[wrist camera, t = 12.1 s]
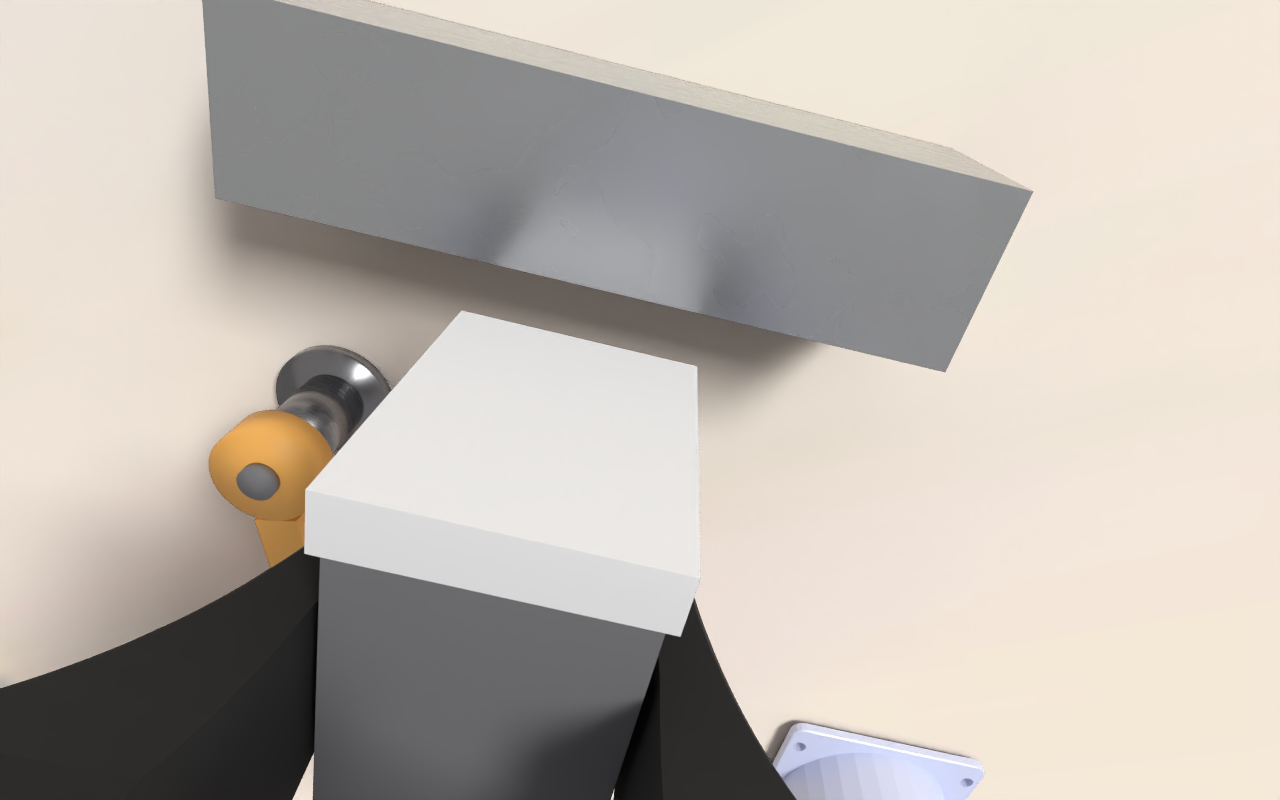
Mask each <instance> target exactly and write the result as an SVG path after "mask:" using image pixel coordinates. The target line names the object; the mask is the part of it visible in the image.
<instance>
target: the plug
mask: <svg viewBox="0 0 1280 800" xmlns="http://www.w3.org/2000/svg"><path fill="white" fill-rule="evenodd" d="M304 554H308V555H312V556H317V557H320V574H319V608H318V641H317V675H316V709H315V743H314V777H313V800H611V797H612V794H613V791H614V788H615V785H616V782H617V779H618V776H619V772H620V769H621V766H622V763H623V760H624V757H625V754H626V751H627V748H628V745H629V742H630V739H631V736H632V733H633V730H634V727H635V724H636V721H637V718H638V715H639V712H640V709H641V706H642V703H643V700H644V697H645V694H646V691H647V688H648V685H649V682H650V679H651V676H652V673H653V670H654V667H655V664H656V661H657V658H658V655H659V652H660V649H661V646H662V643H663V640H664V637H665V634H670V635H675V636H679V637H681V634H682V631H683V628H684V625H685V622H686V620H687V617H688V614H689V611H690V608H691V605H692V602H693V599H694V596H695V593H696V591H697V588H698V585H699V582H700V579H701V566H700V504H699V442H698V379H697V366H694V365H690V364H685V363H681V362H677V361H673V360H668V359H664V358H660V357H656V356H652V355H647V354H643V353H639V352H635V351H631V350H626V349H622V348H618V347H614V346H610V345H605V344H601V343H597V342H593V341H588V340H584V339H580V338H576V337H572V336H567V335H563V334H559V333H555V332H551V331H546V330H542V329H538V328H534V327H530V326H525V325H521V324H517V323H513V322H508V321H504V320H500V319H496V318H492V317H487V316H483V315H479V314H475V313H471V312H466V311H462V310H461V312H460V313H459V314H458V315H457V316H456V317H455V318H454V320H453V321H452V322H451V323H450V324H449V325H448V327H447V328H446V329H445V330H444V331H443V332H442V333H441V335H440V336H439V337H438V338H437V339H436V340H435V341H434V343H433V344H432V345H431V346H430V347H429V348H428V349H427V351H426V352H425V353H424V354H423V355H422V356H421V357H420V359H419V360H418V361H417V362H416V363H415V364H414V366H413V367H412V368H411V369H410V370H409V371H408V372H407V374H406V375H405V376H404V377H403V378H402V379H401V380H400V382H399V383H398V384H397V385H396V386H395V387H394V388H393V390H392V391H391V392H390V393H389V394H388V395H387V397H386V398H385V399H384V400H383V401H382V402H381V403H380V405H379V406H378V407H377V408H376V409H375V410H374V411H373V413H372V414H371V415H370V416H369V417H368V418H367V419H366V421H365V422H364V423H363V424H362V425H361V426H360V427H359V429H358V430H357V431H356V432H355V433H354V434H353V436H352V437H351V438H350V439H349V440H348V441H347V442H346V444H345V445H344V446H343V447H342V448H341V449H340V450H339V452H338V453H337V454H336V455H335V456H334V457H333V458H332V460H331V461H330V462H329V463H328V464H327V465H326V467H325V468H324V469H323V470H322V471H321V472H320V473H319V475H318V476H317V477H316V478H315V479H314V480H313V481H312V483H311V484H310V485H309V486H308V487H307V488H306V489H305V541H304Z"/></svg>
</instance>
